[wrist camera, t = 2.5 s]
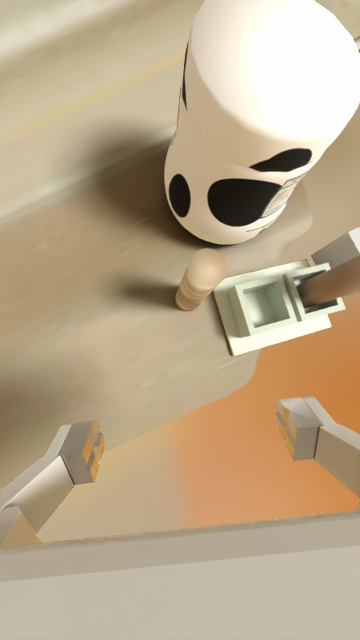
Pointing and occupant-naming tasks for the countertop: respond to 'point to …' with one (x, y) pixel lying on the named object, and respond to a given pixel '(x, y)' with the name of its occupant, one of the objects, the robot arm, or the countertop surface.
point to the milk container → (256, 111)
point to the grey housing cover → (339, 251)
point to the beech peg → (200, 278)
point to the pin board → (283, 302)
